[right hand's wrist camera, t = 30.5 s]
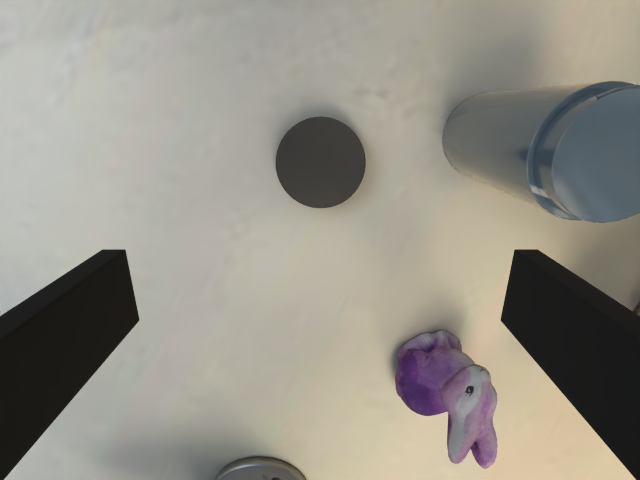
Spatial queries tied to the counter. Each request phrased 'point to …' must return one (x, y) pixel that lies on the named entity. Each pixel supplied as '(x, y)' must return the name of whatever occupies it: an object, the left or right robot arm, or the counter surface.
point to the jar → (554, 147)
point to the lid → (320, 162)
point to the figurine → (450, 393)
